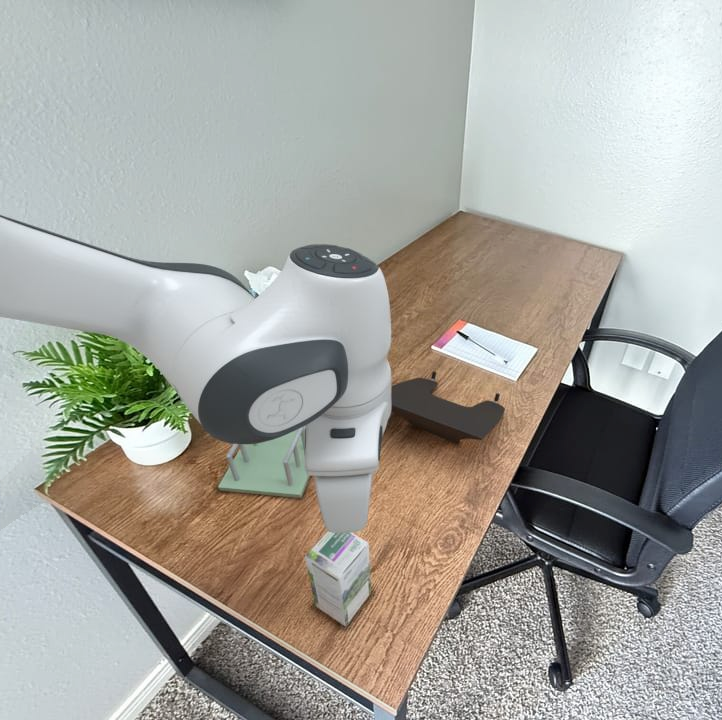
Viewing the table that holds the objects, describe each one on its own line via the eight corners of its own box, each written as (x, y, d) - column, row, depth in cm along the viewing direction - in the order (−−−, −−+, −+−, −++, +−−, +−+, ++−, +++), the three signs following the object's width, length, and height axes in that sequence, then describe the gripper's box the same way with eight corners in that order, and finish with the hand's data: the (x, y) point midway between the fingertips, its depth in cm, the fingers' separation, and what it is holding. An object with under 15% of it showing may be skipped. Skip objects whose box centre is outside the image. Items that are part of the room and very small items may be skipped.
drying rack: (301, 498, 80) (295, 471, 75) (218, 490, 79) (207, 462, 75) (328, 430, 93) (324, 403, 88) (257, 423, 92) (249, 395, 87)
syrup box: (341, 573, 71) (333, 519, 62) (373, 593, 69) (369, 541, 60) (314, 606, 67) (301, 554, 58) (347, 629, 65) (339, 578, 56)
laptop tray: (503, 436, 104) (514, 398, 102) (473, 474, 82) (486, 427, 80) (412, 402, 109) (421, 366, 108) (361, 430, 88) (371, 385, 86)
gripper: (325, 338, 55) (335, 420, 63) (301, 480, 39) (318, 564, 48) (380, 338, 56) (382, 419, 64) (377, 476, 40) (380, 559, 49)
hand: (355, 482), depth 56 cm, fingers open, 8 cm apart
